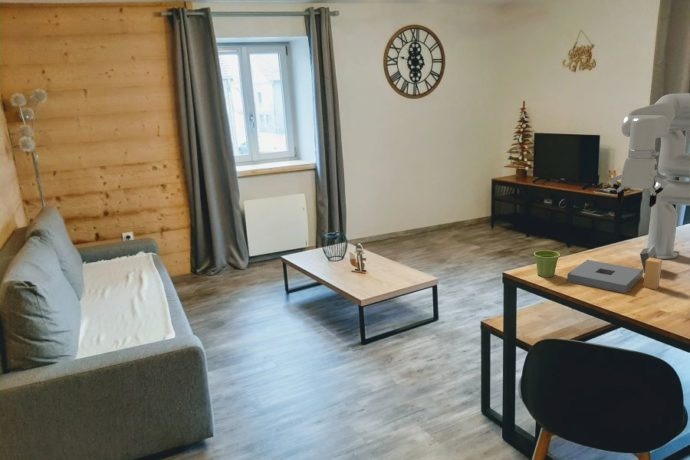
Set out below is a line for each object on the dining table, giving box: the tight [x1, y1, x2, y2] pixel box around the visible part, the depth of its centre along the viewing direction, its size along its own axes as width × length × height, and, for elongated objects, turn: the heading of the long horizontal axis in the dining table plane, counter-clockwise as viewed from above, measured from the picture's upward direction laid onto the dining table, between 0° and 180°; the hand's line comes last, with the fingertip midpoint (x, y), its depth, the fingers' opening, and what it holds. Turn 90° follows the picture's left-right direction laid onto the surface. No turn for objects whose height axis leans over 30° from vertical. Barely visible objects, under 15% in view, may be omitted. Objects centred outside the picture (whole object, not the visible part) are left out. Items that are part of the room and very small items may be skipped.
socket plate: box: [566, 259, 644, 294], centre depth 193 cm, size 20×20×3 cm
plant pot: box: [533, 249, 561, 278], centre depth 199 cm, size 9×9×9 cm
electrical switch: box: [639, 246, 658, 274], centre depth 199 cm, size 9×5×9 cm, turn 141°
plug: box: [642, 258, 663, 290], centre depth 183 cm, size 4×4×10 cm
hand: (635, 204), depth 178 cm, fingers open, 9 cm apart
